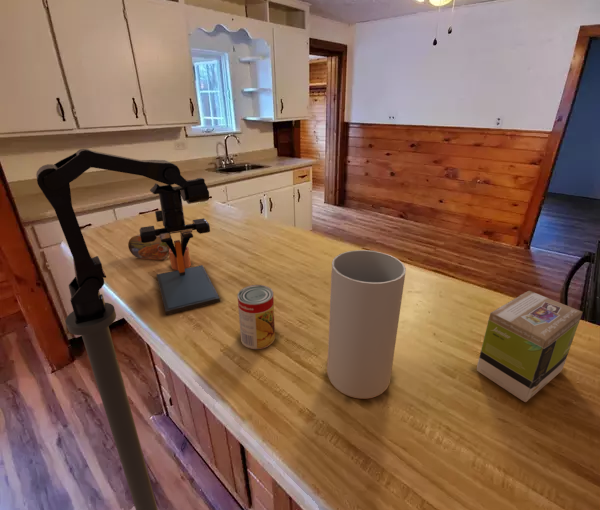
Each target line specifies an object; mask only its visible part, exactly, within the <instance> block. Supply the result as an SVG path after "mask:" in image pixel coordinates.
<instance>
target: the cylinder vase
mask: <svg viewBox="0 0 600 510" xmlns="http://www.w3.org/2000/svg"><path fill="white" fill-rule="evenodd" d="M406 271H407V268H406V265H405V264H404V262H402V261H401V260H400V259H399V258H397V257H395V256H394V255H391V254H388V253H385V252H382V251H377V250H369V249H355V250H348V251H345V252H341V253H339V254H338V255H336V256H334V258H333V259H332V261H331V277H330V296H329V297H330V298H329V321H328V342H327V343H328V344H327V364H326V365H327V367H326V370H327V371H326V372H327V377H328V380H329V381H330V383H331V385H332V386H333V387H334V388H335V389H336V390H337V391H339V392H340V393H342V394H344V395H345V396H348V397H351V398H354V399H361V400H366V399H367V400H368V399H372V398H375V397H378V396H380V395H381V394H383V393H384V392H385V391H386V390H387V389H388V387H389V385H390V384H391V378H392V370H393V363H394V357H395V349H396V344H397V343H396V342H397V335H398V329H399V322H400V314H401V308H402V307H401V306H402V300H403V295H404V294H403V293H404V286H405V279H406Z"/></svg>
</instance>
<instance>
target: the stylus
mask: <svg viewBox="0 0 600 510" xmlns="http://www.w3.org/2000/svg"><path fill="white" fill-rule="evenodd" d="M173 244H174V247H175V250H176V253H177V263H178V270H179V275H180V276H181V275H185V269H184V262H183V256H182V249H181V239H177V240H173Z"/></svg>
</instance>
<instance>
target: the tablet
mask: <svg viewBox="0 0 600 510" xmlns="http://www.w3.org/2000/svg"><path fill="white" fill-rule="evenodd" d="M156 278H157V282H158V287H159V291H160V296H161V300H162V304H163V307H164V312H165V316H168V315H172V314H176V313H180V312H184V311H185V312H186V311H189V310H193V309H196V308H201V307H204V306H208V305H213V304H216V303H219V302H221V298H220V295H219V294H218V292H217V290H216V288H215V286H214V285H213V282H212V281H211V279H210V277H209V275H208V272H207V271H206V270H205V267H204V265H203V264H200V265H195V266H190V267H188V268H185V275H181V276H180V275H179V270H170V271H167V272H161V273H157V274H156Z"/></svg>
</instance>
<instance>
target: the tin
mask: <svg viewBox="0 0 600 510" xmlns="http://www.w3.org/2000/svg"><path fill="white" fill-rule="evenodd" d="M156 237H157V238H156V240H155V241H153V242H147V243H142V241H141V236H140V233H139V234H137V235H133V236H132V237H130V238H129V240H128V242H127V247H128V250H129V252H130V254H132V256H133V257H135V258H136V259H141V260H155V261H156V260H157V261H162V260H165V259H166V258H168V257H170V255H169V249H170V247H169V246H168V245H167V244H166V242H161V239H160V236H156Z"/></svg>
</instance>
